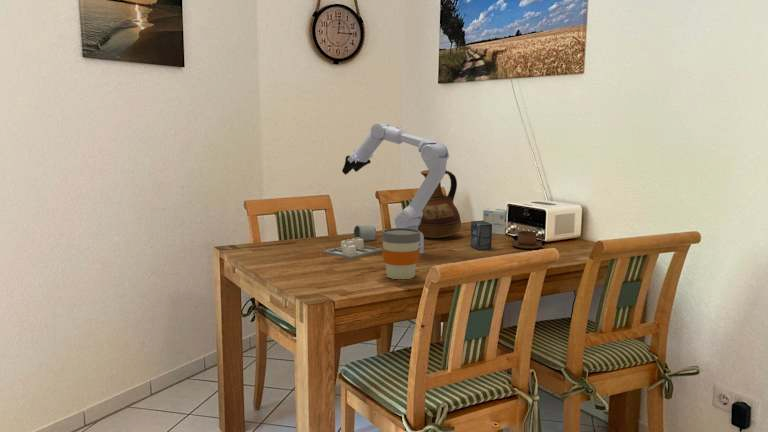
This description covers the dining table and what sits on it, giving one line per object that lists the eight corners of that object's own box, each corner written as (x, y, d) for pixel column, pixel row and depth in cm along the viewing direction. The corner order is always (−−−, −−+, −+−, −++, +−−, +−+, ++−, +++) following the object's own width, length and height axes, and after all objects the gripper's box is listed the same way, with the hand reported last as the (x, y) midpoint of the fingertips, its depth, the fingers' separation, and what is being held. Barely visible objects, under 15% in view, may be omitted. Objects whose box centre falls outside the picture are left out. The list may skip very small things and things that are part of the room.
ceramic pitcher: (407, 234, 268) (407, 167, 263) (445, 231, 276) (447, 166, 271) (428, 242, 250) (429, 170, 245) (469, 238, 259) (471, 169, 254)
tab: (355, 255, 220) (355, 244, 219) (350, 256, 218) (350, 245, 217) (347, 253, 222) (347, 242, 222) (342, 254, 220) (342, 243, 220)
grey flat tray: (382, 253, 229) (382, 248, 229) (350, 261, 215) (350, 256, 215) (355, 248, 238) (355, 243, 237) (323, 255, 224) (323, 251, 224)
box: (470, 246, 242) (470, 220, 240) (482, 246, 244) (483, 220, 242) (478, 250, 235) (479, 224, 233) (491, 249, 236) (492, 223, 235)
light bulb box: (509, 233, 273) (510, 209, 271) (504, 235, 267) (505, 211, 265) (487, 230, 278) (488, 207, 277) (482, 232, 273) (482, 209, 271)
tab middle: (353, 250, 228) (353, 239, 227) (348, 251, 226) (348, 240, 225) (346, 248, 230) (346, 238, 230) (341, 250, 228) (341, 239, 228)
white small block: (363, 248, 232) (363, 237, 231) (358, 249, 230) (358, 238, 229) (355, 246, 235) (355, 236, 234) (351, 247, 232) (351, 237, 232)
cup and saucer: (537, 244, 248) (537, 230, 247) (545, 250, 236) (546, 235, 235) (508, 244, 248) (508, 230, 247) (515, 250, 236) (516, 235, 235)
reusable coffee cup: (397, 269, 203) (397, 226, 201) (427, 276, 196) (428, 230, 193) (373, 277, 194) (373, 231, 191) (404, 283, 186) (404, 236, 184)
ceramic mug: (377, 242, 249) (377, 225, 248) (360, 244, 245) (360, 226, 244) (366, 238, 258) (366, 221, 257) (350, 240, 254) (349, 223, 253)
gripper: (371, 138, 242) (353, 161, 249) (351, 142, 230) (332, 166, 237) (382, 151, 240) (363, 174, 247) (362, 155, 228) (343, 179, 235)
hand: (349, 171), depth 242 cm, fingers open, 7 cm apart
